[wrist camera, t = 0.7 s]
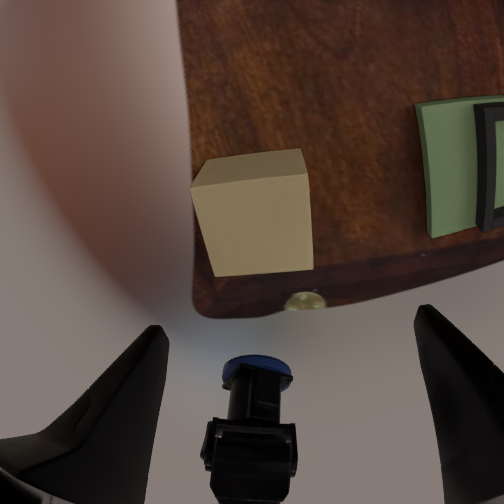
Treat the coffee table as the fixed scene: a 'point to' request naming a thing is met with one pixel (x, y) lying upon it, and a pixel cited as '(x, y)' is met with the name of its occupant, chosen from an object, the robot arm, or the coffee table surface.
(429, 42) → the coffee table surface
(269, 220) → the foam block
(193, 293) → the coffee table surface
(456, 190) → the pad
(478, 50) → the coffee table surface
